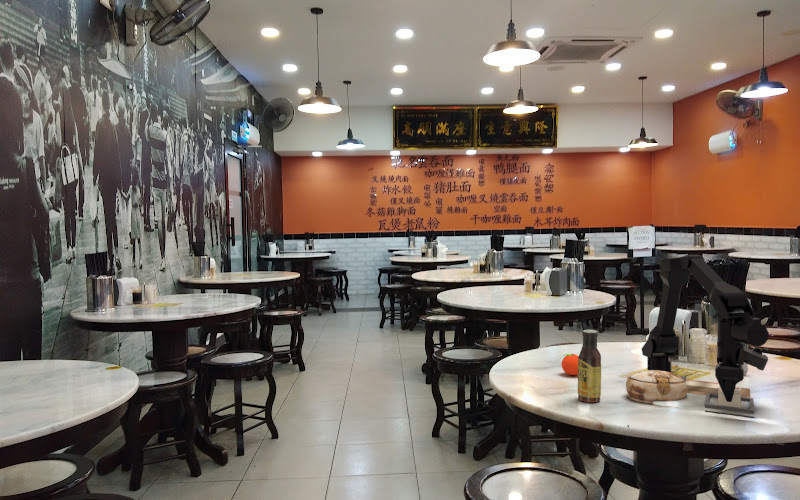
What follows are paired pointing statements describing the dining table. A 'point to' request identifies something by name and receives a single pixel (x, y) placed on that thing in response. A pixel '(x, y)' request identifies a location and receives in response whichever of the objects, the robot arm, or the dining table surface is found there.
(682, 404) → the dining table surface
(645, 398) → the trinket box
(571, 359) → the clementine
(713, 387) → the board
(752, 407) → the tray
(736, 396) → the stub
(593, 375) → the sauce bottle
